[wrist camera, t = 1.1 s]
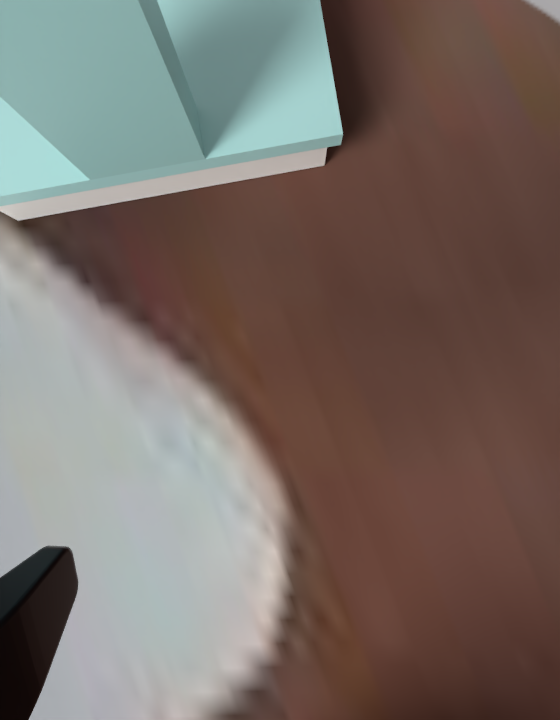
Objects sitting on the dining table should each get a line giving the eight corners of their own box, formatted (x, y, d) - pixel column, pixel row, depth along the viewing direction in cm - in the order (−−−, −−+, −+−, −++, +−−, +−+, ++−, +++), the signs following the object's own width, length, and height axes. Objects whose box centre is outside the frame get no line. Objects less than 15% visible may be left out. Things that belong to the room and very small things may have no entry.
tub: (324, 165, 20) (328, 136, 17) (18, 220, 20) (-21, 200, 18) (294, -10, 20) (294, -63, 18) (-9, 48, 21) (-51, 4, 18)
